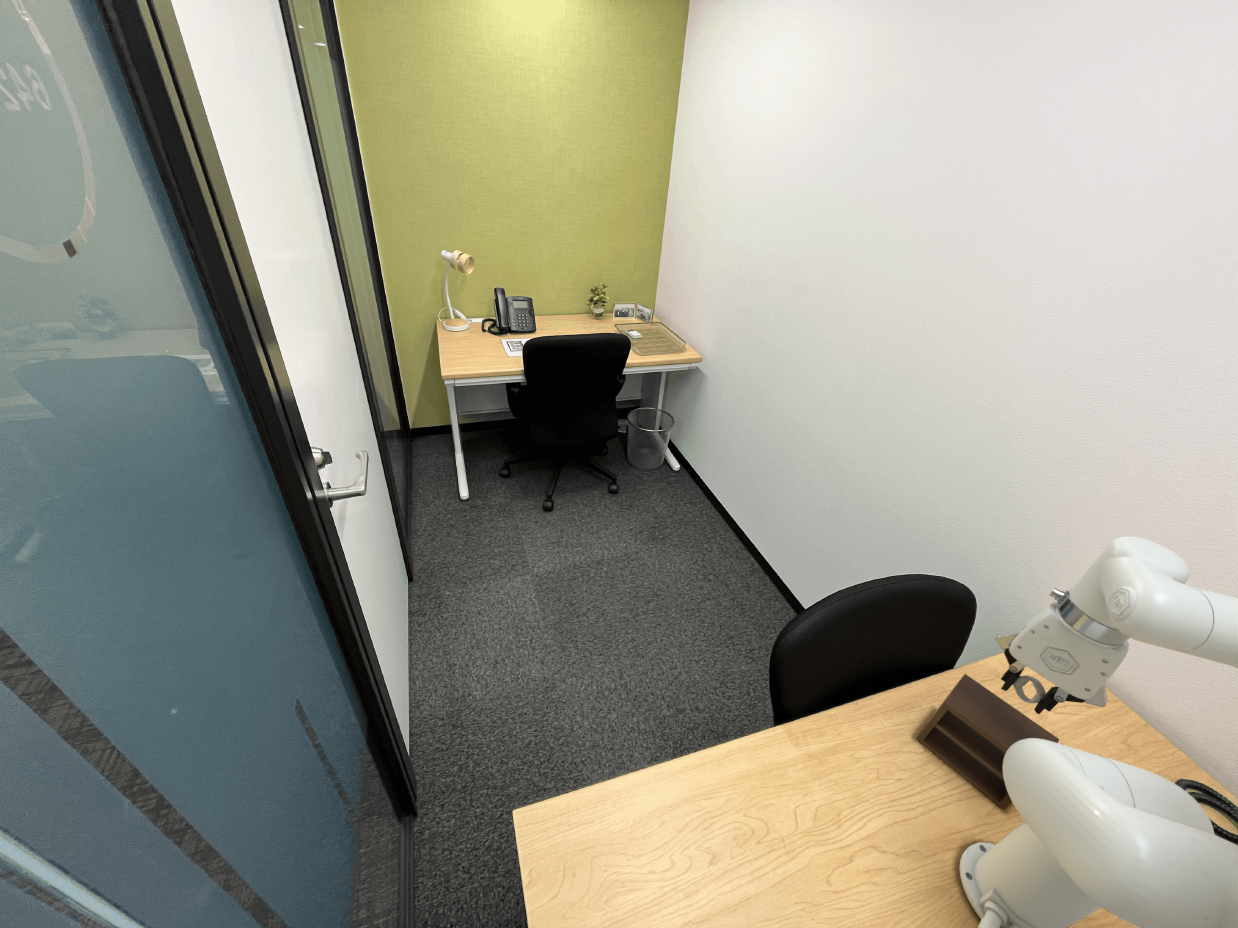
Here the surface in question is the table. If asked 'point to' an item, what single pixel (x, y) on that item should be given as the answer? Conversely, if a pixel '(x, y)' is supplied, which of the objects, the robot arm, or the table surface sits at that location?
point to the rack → (978, 736)
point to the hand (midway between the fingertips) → (1022, 695)
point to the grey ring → (1038, 686)
